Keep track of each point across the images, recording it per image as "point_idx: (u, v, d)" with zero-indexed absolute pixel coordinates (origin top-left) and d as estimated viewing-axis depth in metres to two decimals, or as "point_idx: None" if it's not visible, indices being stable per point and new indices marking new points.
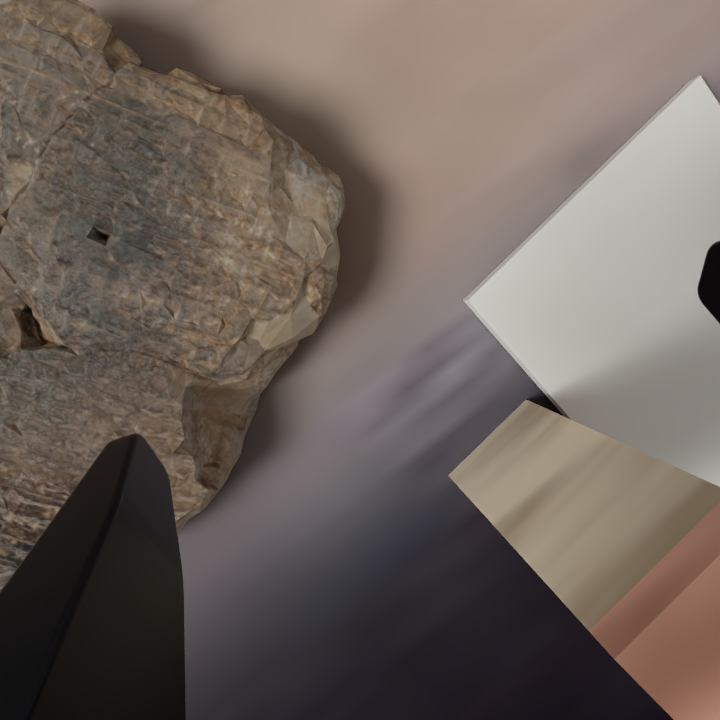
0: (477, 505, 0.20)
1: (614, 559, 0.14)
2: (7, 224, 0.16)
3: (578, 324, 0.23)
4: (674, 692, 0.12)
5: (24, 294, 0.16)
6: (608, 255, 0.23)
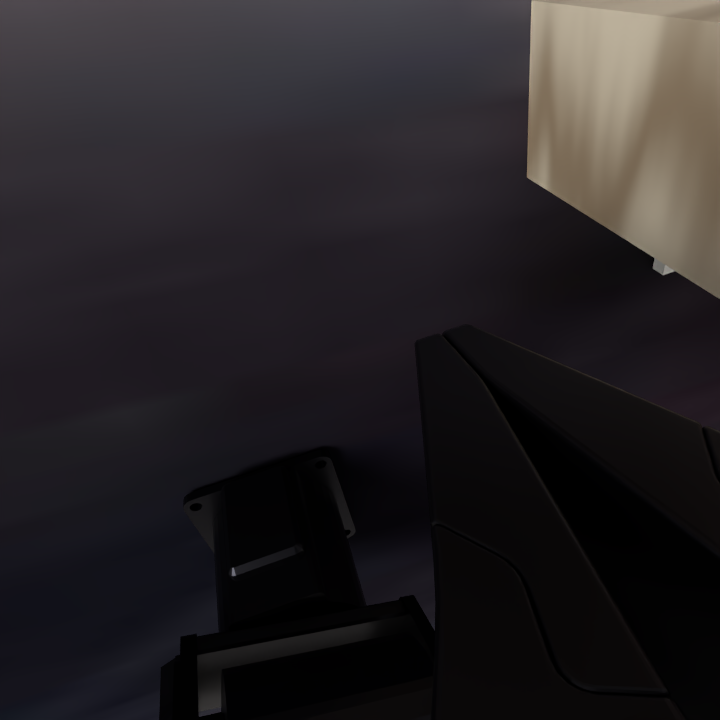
0: (613, 9, 0.12)
1: None
2: None
3: None
4: None
5: None
6: None
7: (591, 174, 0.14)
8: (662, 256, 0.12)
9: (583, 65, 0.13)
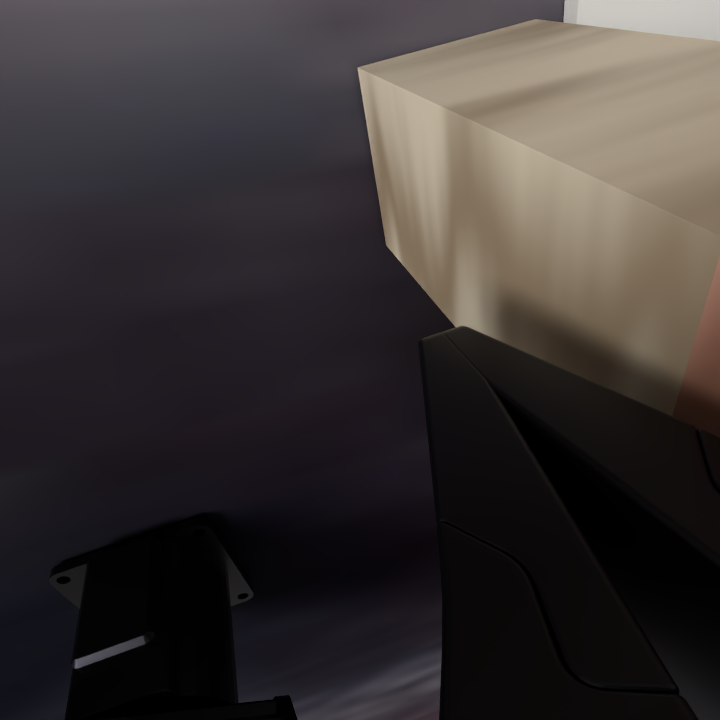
0: (411, 90, 0.10)
1: None
2: None
3: None
4: None
5: None
6: None
7: (426, 257, 0.13)
8: None
9: (401, 143, 0.12)
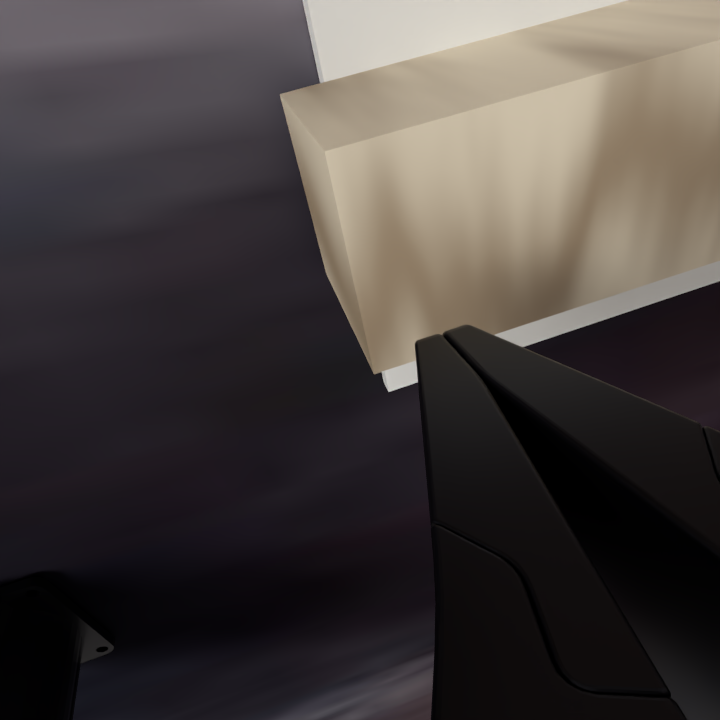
0: (515, 96, 0.09)
1: None
2: None
3: None
4: None
5: None
6: None
7: (513, 285, 0.11)
8: (628, 285, 0.12)
9: (473, 180, 0.10)
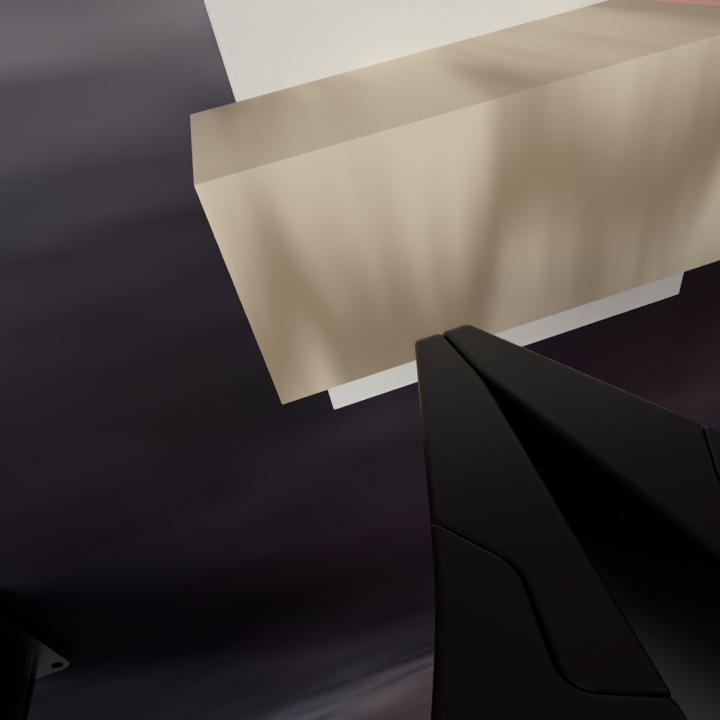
0: (397, 125, 0.09)
1: (674, 17, 0.10)
2: None
3: (349, 11, 0.12)
4: None
5: None
6: None
7: (421, 313, 0.11)
8: (548, 311, 0.12)
9: (363, 211, 0.09)
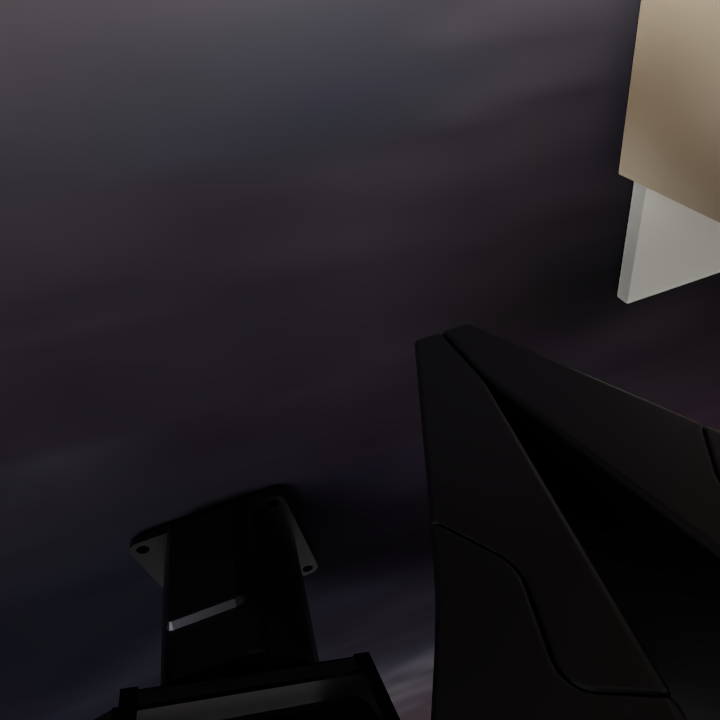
0: None
1: None
2: None
3: None
4: None
5: None
6: None
7: None
8: None
9: None
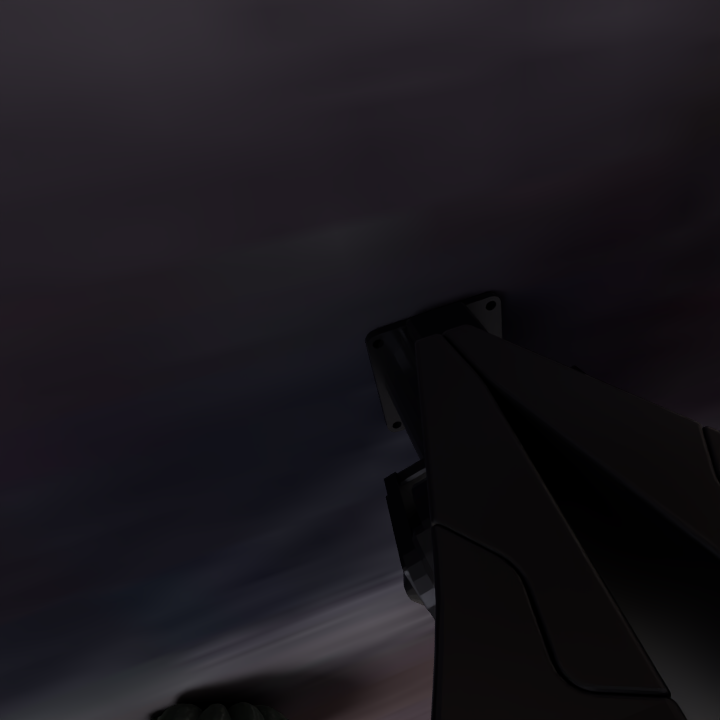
0: None
1: None
2: None
3: None
4: None
5: None
6: None
7: None
8: None
9: None
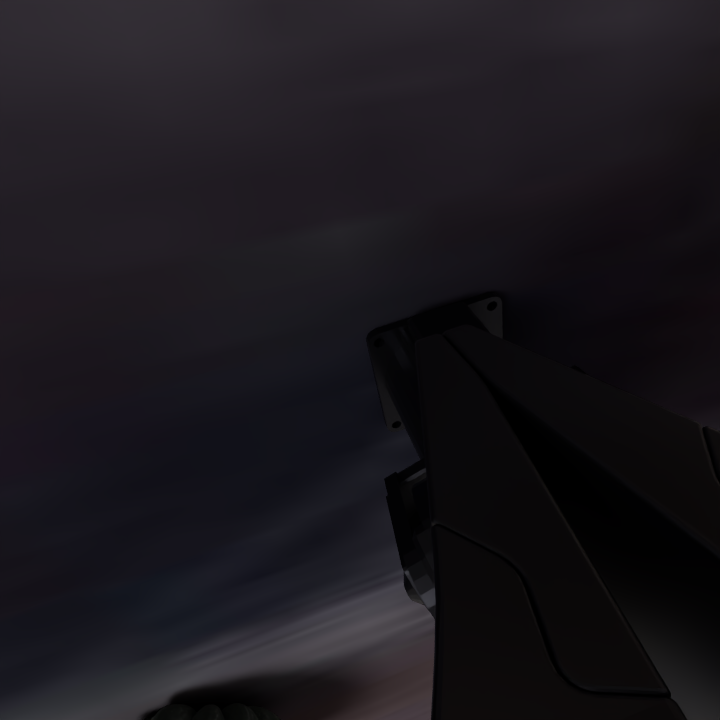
0: None
1: None
2: None
3: None
4: None
5: None
6: None
7: None
8: None
9: None
